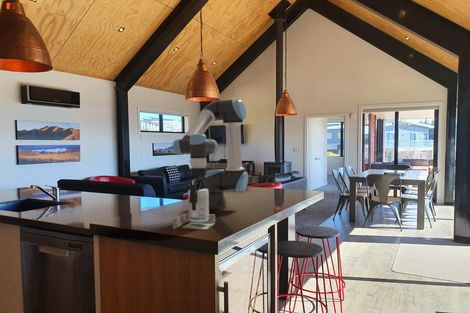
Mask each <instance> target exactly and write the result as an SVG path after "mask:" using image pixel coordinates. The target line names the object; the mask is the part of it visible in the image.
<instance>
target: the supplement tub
mask: <svg viewBox="0 0 470 313" xmlns="http://www.w3.org/2000/svg"><path fill="white" fill-rule="evenodd" d="M187 193H188V194H187V195H188V196H187V197H188V199H187V200H188V201H187V203H188V206H187V207H188V213H189V221H191V222H197V223H198V222H206V221H208V220H209V214H210V209H209V192H208V189H199V191H196V193H197V203H198V217H197V218H196V217H192V203H189V199H190V189H189V188H188V192H187Z"/></svg>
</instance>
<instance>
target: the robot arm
mask: <svg viewBox="0 0 470 313" xmlns="http://www.w3.org/2000/svg"><path fill="white" fill-rule="evenodd" d="M246 115H247V110H246V106H245V103H244V101H243V100H241V99H233V98H232V99H226V100H225V99H221V100H215V101H212V102H211V103H209V104H207V105H206V106H205V107H203V108H202V110H200V112H199V116H198V117H197V119H196V120H195V122H193V124H192V125H191V127H190V128H189V129H188V131H187V132H186V133H185V134H184V135H183V137H182V138H181V139H180V138H179V139H175V140H174V141H173V143H172V150H173V152H174V154H176V155H189V156H190V157H189V165H190V167H191V168H190V169H189V170H190V171H189V173H190V176H191V177H193V179H192V180H190V199H189V203H192V217H196V218H197V217H198V203H197V193H196V191H199V189H208V192H209V210H224V209H226V208H228V206H227V205H228V204H227V201H226V196H225V192H226V191H227V192H244V191H245V190H246V188H247V186H248V183H249V173H248V172H247V171H246V170H245V167H243V164H242V163H243V159H242V135H241V134H242V132H241V125H242V124H243V122H244V121H243V120H245V119H246V117H247V116H246ZM217 121H222V124H223V125H224V126H225V135H226V136H225V138H226V159H227V160H226V165H227V166H226V168H225V169H224V168H222V169H212V170H207V166H208V165H207V155H212V154H216V152H217V151H218V147H219V144H218V142H217V141H216V140H214V139H212V138H207V136H206V134H205V132H206V131H207V130H208V128H209V127H210V125H212V124H214V122H217Z"/></svg>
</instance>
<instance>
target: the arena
mask: <svg viewBox="0 0 470 313" xmlns="http://www.w3.org/2000/svg"><path fill="white" fill-rule="evenodd" d="M186 223H187V224H186ZM215 224H216V214H215V213H214V214H212V213H211V214H210V213H209V220H208V221H206V222H198V223H197V222H191V221H189V212H185V213H183V214H181V215H179V216H177V217H176V218H173V219H172V229H177V228H179V227H181V226H182V227H181V228H182V229H192V230H193V229H194V230H208V229H210V228H211V227H213V226H214V225H215Z"/></svg>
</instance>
